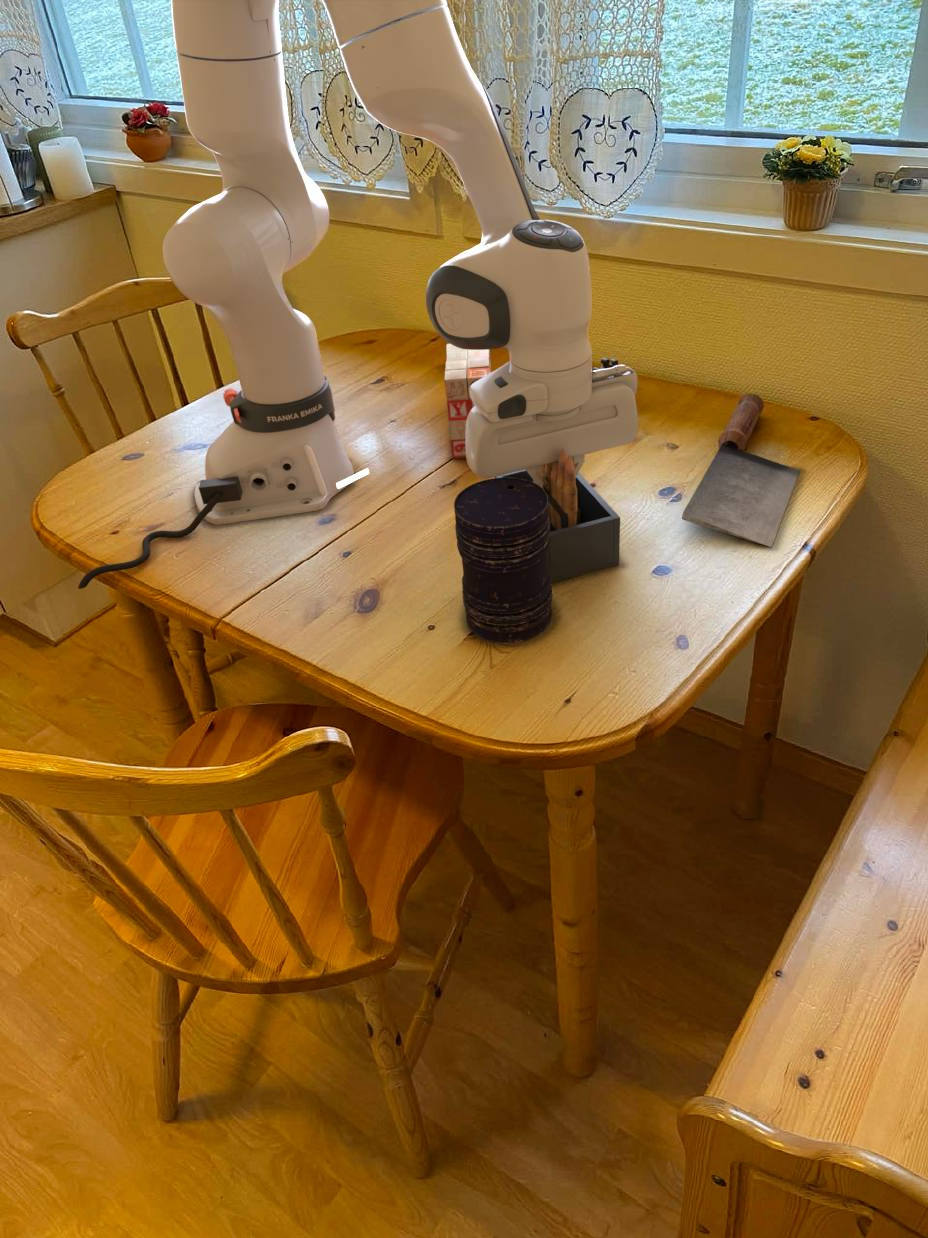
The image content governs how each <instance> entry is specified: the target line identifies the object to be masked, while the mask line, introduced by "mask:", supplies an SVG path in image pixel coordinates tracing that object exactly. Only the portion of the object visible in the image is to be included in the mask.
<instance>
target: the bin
mask: <svg viewBox="0 0 928 1238" xmlns="http://www.w3.org/2000/svg"><path fill="white" fill-rule="evenodd" d="M502 477H511V478H519V479H525V480H528V481H531V482H532V478H531V476H530V475H529V474H528V472H527V471H526V470H525V469H524V470H520V471H516V472H512V473H507V474H503V475H499V476H495V477H494V478H502ZM576 487H577V508H578V509H579V510H580V524H578V525H575V526H571V527H567V528H563V529H559V530H556V531H552V532H551V531H550V538H551V540H550V545H549V549H548V568H549V570H550V573H551V584H553V583H558V582H561V581H565V580H568V579H572V578H575V577H579V576H583V575H586V574H591V573H593V572H597V571H601V570H605V569H609V568H611V567H612V568H613V567H616V566H618V565H620V550H621V549H620V547H621V546H620V545H621V544H620V543H621V516H619V514H618V513H617V512H616V511H615V510H614V509H613V508H612V507H611V505H609V504H608V502H607V501H606V500H605V499H604V498H603V497H602V496H601V495H600V494H599V493H598V491H597V490H596V489H595V488H594V487H593V486H592V485H591V484H590V483H589V481H588V480H586V478H585V477H584V476H583V475H582V474H581V473H580V471H579V472H578V474H577V476H576Z"/></svg>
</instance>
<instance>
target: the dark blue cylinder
mask: <svg viewBox="0 0 928 1238" xmlns="http://www.w3.org/2000/svg"><path fill="white" fill-rule="evenodd" d="M453 510H454V521H455V525H454V526H455V527H454V528H455V529H454V530H455V538H456V547H457V550H458V554H459V556H460V558H461V565H462V573H463V574H462V577H461V587H462V602H463V603H462V604H463V607H464V610H465V621H466V626H467V627H468V629H469V630H470V631H471V633H472V634H474V635H475V636H476V637H477V638H479V639H482V640H484V641H486V642H490V643H494V644H502V645H503V644H504V645H510V644H518V643H524V642H527V641H530V640H532V639H534V638H536V637H538V636H540V635H541V634H542V633H544V632H545V631H546V630H547V629H548V628H549V626H550V624H551V622H552V620H553V608H552V604H553V602H552V601H553V586H552V584H553V583H551V573H550V570H549V568H548V549H549V545H550V540H551V538H550V518H549V511H548V496H547V493H546V492H545V490H544V489H543V488H542V487H540V486H539V485H537V484H536V483H533V482H531V481H528V480H525V479H519V478H511V477H502V478H495V477H491V478H487V479H482V480H480V481H477V482H475V483H472V484H470V485H468V486H467V487H466V486H465V488H464V489H462V490H461V491H460V492H459V493H458V494H457V495H456V497H455V499H454V502H453Z"/></svg>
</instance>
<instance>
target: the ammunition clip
mask: <svg viewBox="0 0 928 1238" xmlns="http://www.w3.org/2000/svg"><path fill="white" fill-rule="evenodd" d="M536 474H537V475H538V476H539V477H540V476H545V477H546V478H547V480H549V482H550V491H551V493H550V494H548V495H547V496H548V511H549V518H550V531H551V532H552V531H556V530H559V529H563V528H567V527H571V526H575V525H578V524H580V510H579V509H578V508H577V487H576V479H575V468H574V463H573V460H572V458H571V456H569V457H568V458H567V454H566V452H565V450H564V449H562V451H561V453H560V457H559V461H556V462H552V463H548V464H544V465H541V472H540V473H536ZM532 482H533V479H532Z"/></svg>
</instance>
